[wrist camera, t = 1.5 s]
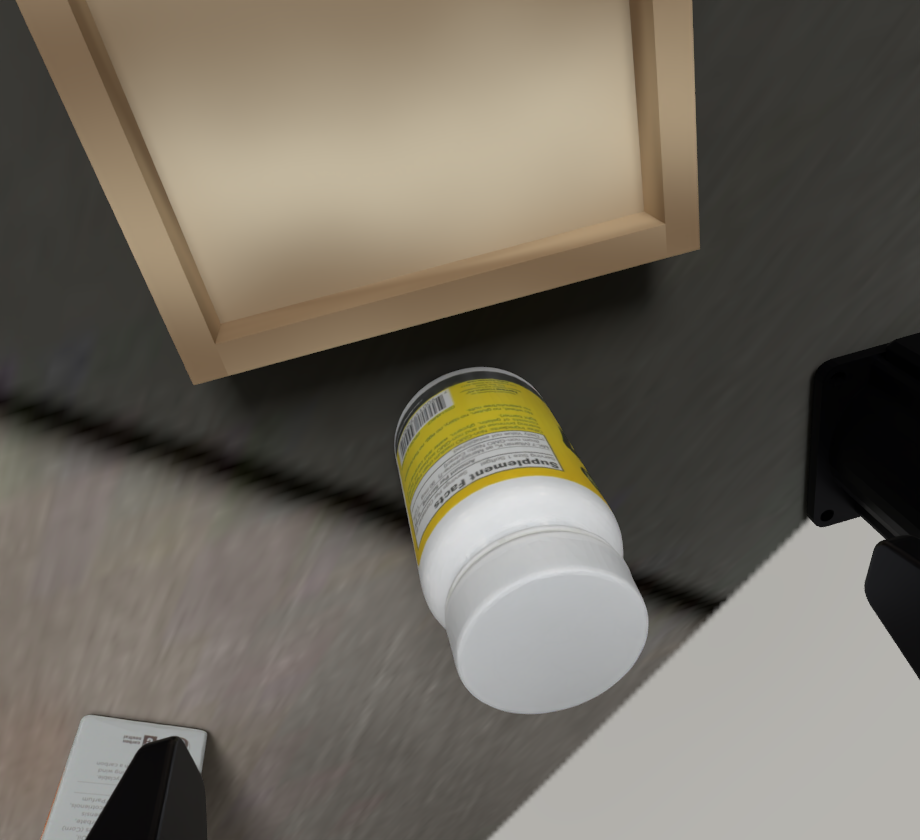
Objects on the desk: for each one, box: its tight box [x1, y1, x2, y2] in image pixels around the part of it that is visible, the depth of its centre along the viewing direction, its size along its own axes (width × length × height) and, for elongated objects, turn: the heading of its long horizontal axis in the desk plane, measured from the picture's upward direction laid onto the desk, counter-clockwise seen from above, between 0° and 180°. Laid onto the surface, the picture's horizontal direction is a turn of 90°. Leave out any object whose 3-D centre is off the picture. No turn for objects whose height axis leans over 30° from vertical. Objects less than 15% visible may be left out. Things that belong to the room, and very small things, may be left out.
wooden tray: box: [16, 0, 700, 385], centre depth 15 cm, size 12×12×3 cm
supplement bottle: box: [394, 367, 649, 714], centre depth 18 cm, size 5×5×8 cm
